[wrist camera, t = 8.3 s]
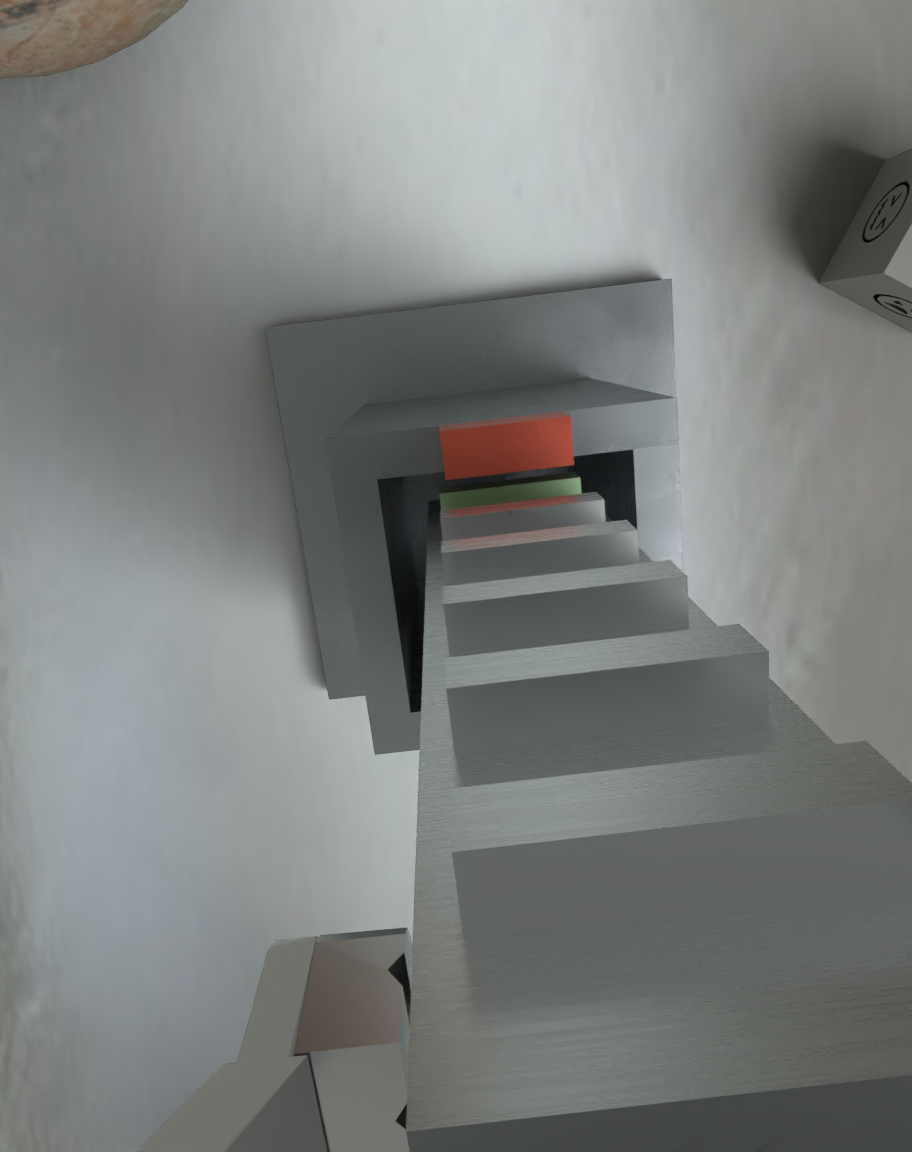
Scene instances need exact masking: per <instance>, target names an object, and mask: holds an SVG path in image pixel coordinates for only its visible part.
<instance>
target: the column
mask: <svg viewBox="0 0 912 1152" xmlns="http://www.w3.org/2000/svg"><path fill="white" fill-rule="evenodd" d="M439 495H440V500H432V501H428V529H427V557H426V586H425V614H424V642H423V670H422V698H421V726H420V754H419V782H418V811H417V839H416V867H415V895H414V923H413V951H412V979H411V1007H410V1036H409V1064H408V1092H407V1120H406V1134H407V1140H408V1146H409V1152H912V783H911V782H910V781H909V780H908V779H907V778H905V777H904V776H903V775H902V774H901V773H900V772H899V771H898V770H897V769H896V768H895V767H894V766H892V765H891V764H890V763H889V762H888V761H887V760H886V759H885V758H884V757H883V756H882V755H881V754H879V753H878V752H877V751H876V750H875V749H874V748H873V747H872V746H871V745H870V744H869V743H868V742H866V741H861V742H852V743H844V744H835V743H834V742H833V741H832V740H831V739H830V738H829V737H828V736H827V735H826V734H825V733H824V732H823V731H822V730H821V729H820V728H819V727H818V726H817V725H816V724H815V723H814V722H813V721H812V720H811V719H810V718H809V717H808V716H807V715H806V714H805V713H804V712H803V711H802V710H801V709H800V708H799V707H798V706H797V705H796V704H795V703H794V702H793V701H792V700H791V699H790V698H789V697H788V696H787V695H786V694H785V693H784V692H783V691H782V690H781V689H780V688H779V687H778V686H777V685H776V684H775V683H774V682H773V681H772V680H771V679H770V678H769V651H768V650H767V649H766V648H765V647H764V646H763V645H761V644H760V643H759V642H758V641H757V640H756V639H755V638H754V637H753V636H752V635H751V634H750V633H748V632H747V631H746V630H745V629H744V628H743V627H742V626H741V625H740V624H734V625H725V626H717V625H716V624H715V623H714V622H713V621H712V620H711V619H710V618H709V617H708V616H707V615H706V614H705V613H704V612H703V611H702V610H701V609H700V608H699V607H698V606H697V605H696V604H695V603H694V602H693V601H692V600H691V599H690V598H689V597H688V586H687V575H686V574H685V573H683V572H682V571H681V570H680V569H679V568H678V567H677V566H676V565H675V564H674V563H673V562H672V561H670V560H666V561H657V562H653V561H652V560H651V559H650V558H649V557H648V556H647V555H646V554H645V553H644V552H643V551H642V550H641V549H640V548H639V547H638V530H637V529H636V528H635V527H634V526H633V525H631V524H630V523H629V522H628V521H627V520H620V521H612V520H611V519H610V518H609V517H608V516H607V515H606V514H605V503H604V499H603V498H602V497H601V496H600V495H599V494H598V493H597V492H592V493H584V492H583V491H582V490H581V480H580V477H579V476H578V475H577V474H576V473H575V472H569V473H560V474H552V475H543V476H535V477H526V478H518V479H509V480H501V481H492V482H484V483H475V484H467V485H458V486H450V487H441V488H439Z"/></svg>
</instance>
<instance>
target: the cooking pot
mask: <svg viewBox="0 0 912 1152" xmlns="http://www.w3.org/2000/svg"><path fill="white" fill-rule="evenodd" d="M187 1H188V0H0V78H15V77H32V76H46V75H50V74H54V73H57V72H61V71H65V70H69V69H72V68H76V67H80V66H84V65H87V64H91V63H95V62H98V61H100V60H102V59H104V58H106V57H108V56H110V55H112V54H114V53H116V52H118V51H120V50H122V49H124V48H126V47H128V46H130V45H132V44H134V43H136V42H138V41H140V40H142V39H143V38H145V37H146V36H147V35H148V34H150V33H151V32H152V31H153V30H155V29H156V28H157V27H158V26H160V25H161V24H162V23H163V22H165V21H166V20H167V19H168V18H170V17H171V16H172V15H173V14H175V13H176V12H177V11H179V10H180V9H181V8H182V7H183V6H184V5H185V4H186V3H187Z"/></svg>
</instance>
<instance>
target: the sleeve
mask: <svg viewBox="0 0 912 1152" xmlns="http://www.w3.org/2000/svg"><path fill="white" fill-rule="evenodd" d="M265 331H266V337H267V343H268V349H269V354H270V360H271V366H272V372H273V378H274V383H275V389H276V395H277V401H278V407H279V412H280V418H281V424H282V430H283V436H284V441H285V447H286V453H287V459H288V464H289V470H290V476H291V482H292V488H293V493H294V499H295V505H296V511H297V517H298V522H299V528H300V534H301V540H302V546H303V551H304V557H305V563H306V569H307V574H308V580H309V586H310V592H311V598H312V603H313V609H314V615H315V621H316V627H317V632H318V638H319V644H320V650H321V656H322V661H323V667H324V673H325V679H326V684H327V690H328V696H329V699H338V698H346V697H355V696H364V695H366V701H367V708H368V714H369V720H370V727H371V733H372V739H373V746H374V752H375V755H377V754H385V753H394V752H403V751H411V750H420V726H421V698H422V670H423V642H424V614H425V586H426V557H427V529H428V501H432V500H440V495H439V488H441V487H450V486H458V485H467V484H475V483H484V482H492V481H501V480H509V479H518V478H526V477H535V476H543V475H552V474H560V473H569V472H575V473H576V474H577V475H578V476H579V477H580V480H581V490H582V491H583V492H584V493H592V492H597V493H598V494H599V495H600V496H601V497H602V498H603V499H604V503H605V514H606V515H607V516H608V517H609V518H610V519H611V520H612V521H620V520H627V521H628V522H629V523H630V524H631V525H633V526H634V527H635V528H636V529H637V530H638V547H639V548H640V549H641V550H642V551H643V552H644V553H645V554H646V555H647V556H648V557H649V558H650V559H651V560H652V561H653V562H657V561H666V560H670V561H672V562H673V563H674V564H675V565H676V566H677V567H678V568H679V569H680V570H681V571H682V572H683V554H682V526H681V499H680V471H679V444H678V417H677V398H676V387H675V360H674V333H673V306H672V279H665V280H657V281H648V282H640V283H631V284H623V285H615V286H606V287H598V288H589V289H581V290H573V291H564V292H556V293H548V294H539V295H531V296H522V297H514V298H506V299H497V300H489V301H480V302H472V303H464V304H455V305H447V306H439V307H430V308H422V309H413V310H405V311H397V312H388V313H380V314H371V315H363V316H355V317H346V318H338V319H330V320H321V321H313V322H304V323H296V324H288V325H279V326H271V327H265Z"/></svg>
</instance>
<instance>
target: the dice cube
mask: <svg viewBox="0 0 912 1152" xmlns="http://www.w3.org/2000/svg"><path fill="white" fill-rule="evenodd" d="M818 283H819V284H821V285H823V286H825V287H827V288H829V289H831V290H832V291H834V292H836V293H838V294H840V295H842V296H844V297H846V298H848V299H849V300H851V301H853V302H855V303H857V304H859V305H861V306H863V307H865V308H867V309H868V310H870V311H872V312H874V313H876V314H878V315H880V316H882V317H884V318H885V319H887V320H889V321H891V322H893V323H895V324H897V325H899V326H901V327H902V328H904V329H906V330H908V331H910V332H912V149H911V150H908V151H906V152H903V153H901V154H898V155H896V156H893V157H891V158H888V159H886V160H885V162H884V164H883V165H882V167H881V169H880V171H879V173H878V175H877V176H876V178H875V180H874V182H873V184H872V186H871V187H870V189H869V191H868V193H867V195H866V196H865V198H864V200H863V202H862V204H861V206H860V207H859V209H858V211H857V213H856V215H855V217H854V218H853V220H852V222H851V224H850V226H849V228H848V229H847V231H846V233H845V235H844V237H843V238H842V240H841V242H840V244H839V246H838V248H837V249H836V251H835V253H834V255H833V257H832V259H831V260H830V262H829V264H828V266H827V268H826V270H825V271H824V273H823V275H822V277H821V279H820V280H819V282H818Z"/></svg>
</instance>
